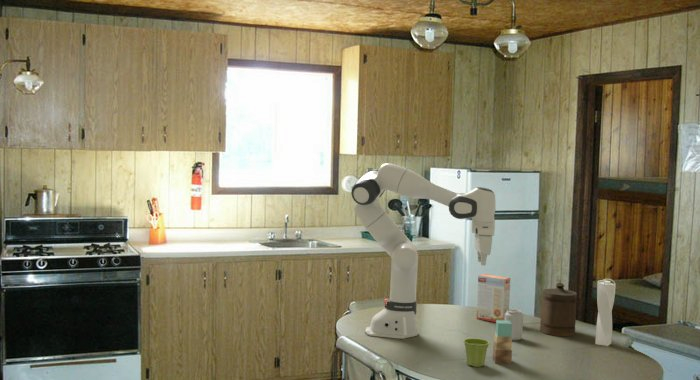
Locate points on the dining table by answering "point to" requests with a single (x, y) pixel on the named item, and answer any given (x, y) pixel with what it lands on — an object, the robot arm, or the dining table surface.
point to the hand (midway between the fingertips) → (481, 263)
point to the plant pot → (476, 351)
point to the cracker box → (492, 297)
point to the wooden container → (558, 311)
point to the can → (515, 323)
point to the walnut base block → (502, 356)
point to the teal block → (503, 328)
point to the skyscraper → (604, 311)
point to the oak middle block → (502, 343)
